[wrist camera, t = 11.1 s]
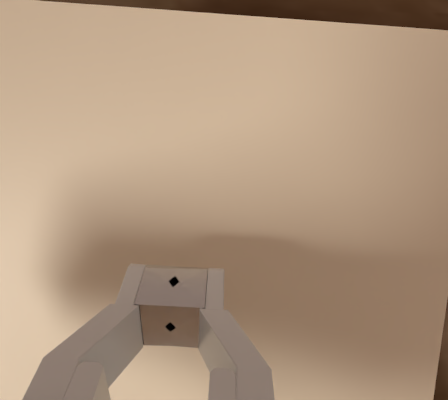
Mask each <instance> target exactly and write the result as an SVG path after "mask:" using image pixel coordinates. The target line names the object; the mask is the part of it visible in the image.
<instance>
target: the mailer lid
mask: <svg viewBox="0 0 448 400" xmlns="http://www.w3.org/2000/svg"><path fill="white" fill-rule="evenodd" d="M131 263H132V264H144V265H147V264H148V265H161V266H173V267H198V268H222V269H224V271H225V272H224V310H229V312H230V313H231V314H232V316H233V317H234V318H235V320H236V321H237V323H238V324H239V325H240V327H241V328H242V330H243V331H244V332H245V334H246V335H247V336H248V338H249V339H250V341H251V342H252V343H253V345H254V346H255V347H256V349H257V350H258V352H259V353H260V354H261V356H262V357H263V358H264V360H265V361H266V363H267V364H268V365H269V367H270V368H271V369H272V379H273V389H274V398H275V400H433V398H434V391H435V384H436V377H437V370H438V362H439V355H440V348H441V341H442V334H443V327H444V320H445V313H446V306H447V299H448V30H436V29H422V28H408V27H394V26H381V25H367V24H353V23H340V22H326V21H312V20H298V19H285V18H271V17H257V16H243V15H230V14H216V13H202V12H188V11H175V10H161V9H147V8H133V7H120V6H106V5H92V4H78V3H65V2H51V1H37V0H0V400H22V399H23V397H24V395H25V393H26V391H27V389H28V387H29V385H30V383H31V381H32V379H33V377H34V375H35V373H36V371H37V369H38V367H39V365H40V363H41V361H42V359H43V357H44V356H46V355H47V354H48V353H49V352H51V351H52V350H53V349H54V348H56V347H57V346H58V345H59V344H61V343H62V342H63V341H64V340H66V339H67V338H68V337H69V336H71V335H72V334H73V333H74V332H76V331H77V330H78V329H79V328H81V327H82V326H83V325H84V324H86V323H87V322H88V321H89V320H90V319H92V318H93V317H94V316H95V315H97V314H98V313H99V312H100V311H102V310H103V309H104V308H105V307H107V306H108V305H109V304H115V302H116V299H117V296H118V293H119V291H120V288H121V285H122V282H123V279H124V277H125V274H126V271H127V268H128V266H129V265H130V264H131ZM209 379H210V372H209V370H208V368H207V366H206V364H205V362H204V360H203V358H202V356H201V354H200V351H199V349H198V348H192V347H179V346H154V345H143V348H142V349H141V350H140V352H139V353H138V354H137V355H136V356H135V357H134V359H133V360H132V361H131V362H130V363H129V364H128V366H127V367H126V368H125V369H124V370H123V372H122V373H121V374H120V375H119V376H118V377H117V379H116V380H115V381H114V382H113V383H112V384H111V386H110V387H109V388H108V389H109V394H110V398H111V400H208V393H209Z"/></svg>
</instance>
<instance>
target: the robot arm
mask: <svg viewBox="0 0 448 400" xmlns="http://www.w3.org/2000/svg"><path fill="white" fill-rule="evenodd" d="M224 272H225V271H224V269H222V268H198V267H173V266H161V265H148V264H147V265H144V264H132V263H131V264H130V265H129V266H128V268H127V271H126V274H125V277H124V279H123V282H122V285H121V288H120V291H119V293H118V296H117V299H116V302H115V304H109V305H108V306H107V307H105V308H104V309H103V310H102V311H100V312H99V313H98V314H97V315H95V316H94V317H93V318H92V319H90V320H89V321H88V322H87V323H86V324H84V325H83V326H82V327H81V328H79V329H78V330H77V331H76V332H74V333H73V334H72V335H71V336H69V337H68V338H67V339H66V340H64V341H63V342H62V343H61V344H59V345H58V346H57V347H56V348H54V349H53V350H52V351H51V352H49V353H48V354H47V355H46V356H44V357H43V359H42V361H41V363H40V365H39V367H38V369H37V371H36V373H35V375H34V377H33V379H32V381H31V383H30V385H29V387H28V389H27V391H26V393H25V395H24V397H23V399H22V400H111V398H110V394H109V389H108V388H109V387H110V386H111V384H112V383H113V382H114V381H115V380H116V379H117V377H118V376H119V375H120V374H121V373H122V372H123V370H124V369H125V368H126V367H127V366H128V364H129V363H130V362H131V361H132V360H133V359H134V357H135V356H136V355H137V354H138V353H139V352H140V350H141V349H142V348H143V345H154V346H179V347H192V348H198V349H199V351H200V354H201V356H202V358H203V360H204V362H205V364H206V366H207V368H208V370H209V372H210V379H209V393H208V400H275V398H274V389H273V379H272V369H271V368H270V367H269V365H268V364H267V363H266V361H265V360H264V358H263V357H262V356H261V354H260V353H259V352H258V350H257V349H256V347H255V346H254V345H253V343H252V342H251V341H250V339H249V338H248V336H247V335H246V334H245V332H244V331H243V330H242V328H241V327H240V325H239V324H238V323H237V321H236V320H235V318H234V317H233V316H232V314H231V313H230V312H229V310H224Z"/></svg>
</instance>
